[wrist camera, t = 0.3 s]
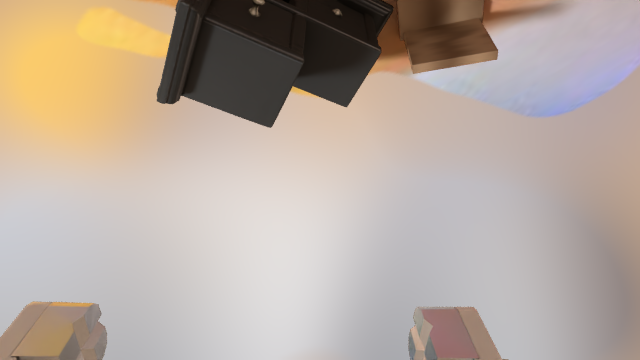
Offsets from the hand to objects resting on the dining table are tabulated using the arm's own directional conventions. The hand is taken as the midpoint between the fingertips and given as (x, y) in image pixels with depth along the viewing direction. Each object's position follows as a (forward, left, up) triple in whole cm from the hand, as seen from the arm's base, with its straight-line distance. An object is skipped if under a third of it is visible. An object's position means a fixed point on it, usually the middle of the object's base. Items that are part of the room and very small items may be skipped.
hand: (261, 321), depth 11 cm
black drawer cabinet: (+10, +7, -51) cm, 53 cm away
